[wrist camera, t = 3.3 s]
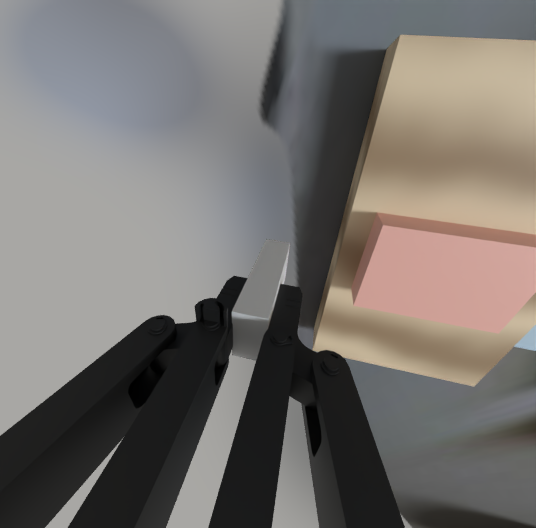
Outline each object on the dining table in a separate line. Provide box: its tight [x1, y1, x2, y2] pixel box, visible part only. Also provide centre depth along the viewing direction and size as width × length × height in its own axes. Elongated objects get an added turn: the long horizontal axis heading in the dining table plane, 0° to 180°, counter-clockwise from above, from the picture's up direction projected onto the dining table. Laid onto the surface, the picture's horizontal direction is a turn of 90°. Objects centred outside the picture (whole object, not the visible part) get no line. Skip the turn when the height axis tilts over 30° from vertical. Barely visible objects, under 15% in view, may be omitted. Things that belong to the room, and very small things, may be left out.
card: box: [351, 212, 536, 334], centre depth 15 cm, size 6×9×2 cm, turn 86°
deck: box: [313, 35, 536, 386], centre depth 17 cm, size 22×14×3 cm, turn 176°
